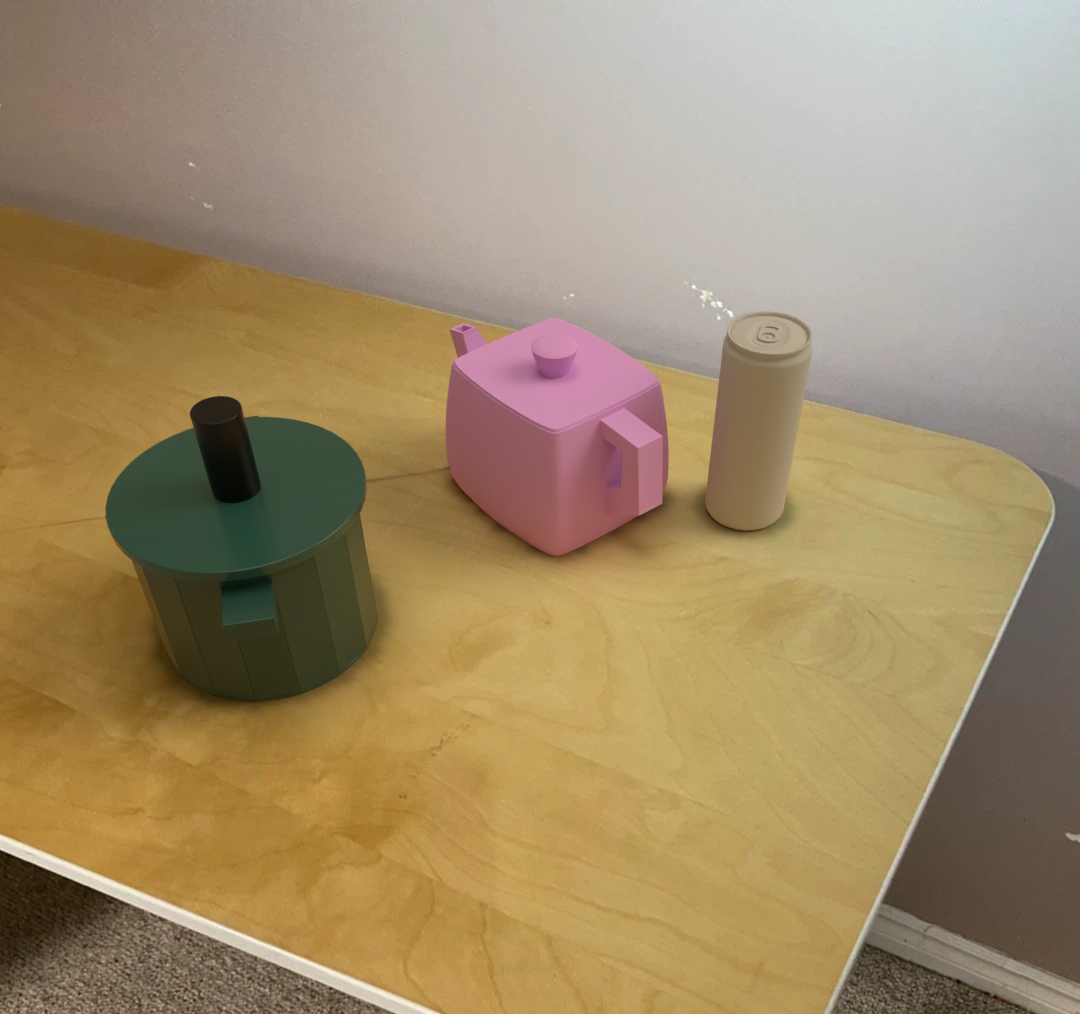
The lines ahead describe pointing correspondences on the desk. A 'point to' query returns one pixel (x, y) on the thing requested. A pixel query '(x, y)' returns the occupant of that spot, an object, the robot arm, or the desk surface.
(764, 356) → the beverage can
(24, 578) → the desk surface
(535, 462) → the teapot
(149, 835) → the desk surface
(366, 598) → the pot
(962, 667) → the desk surface
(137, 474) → the lid
